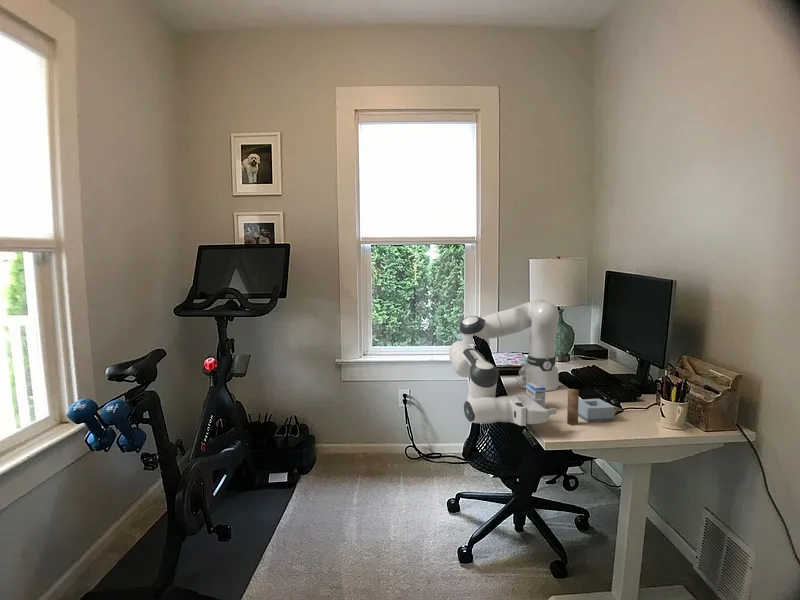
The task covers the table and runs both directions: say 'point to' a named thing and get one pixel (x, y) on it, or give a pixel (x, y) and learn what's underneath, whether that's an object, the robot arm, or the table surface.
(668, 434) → the table surface
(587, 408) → the socket block
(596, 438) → the table surface
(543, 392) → the medicine box
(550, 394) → the table surface
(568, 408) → the dowel
